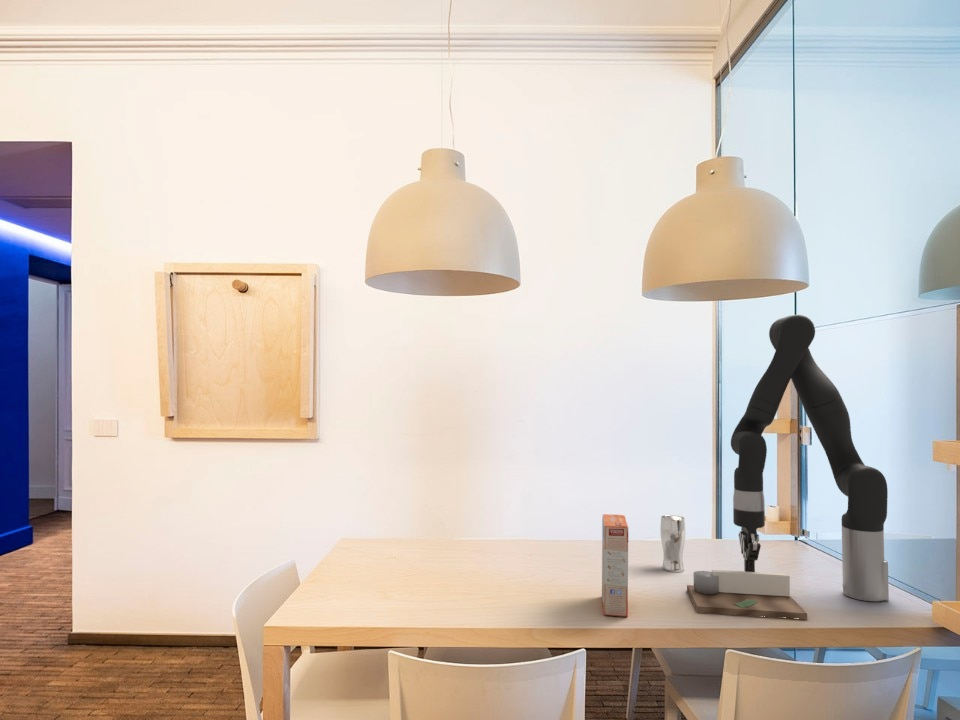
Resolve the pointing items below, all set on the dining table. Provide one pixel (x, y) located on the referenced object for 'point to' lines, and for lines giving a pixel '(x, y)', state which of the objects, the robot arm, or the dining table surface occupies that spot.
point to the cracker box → (615, 565)
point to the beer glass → (673, 542)
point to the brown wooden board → (746, 604)
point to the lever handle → (741, 582)
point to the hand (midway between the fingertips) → (749, 574)
